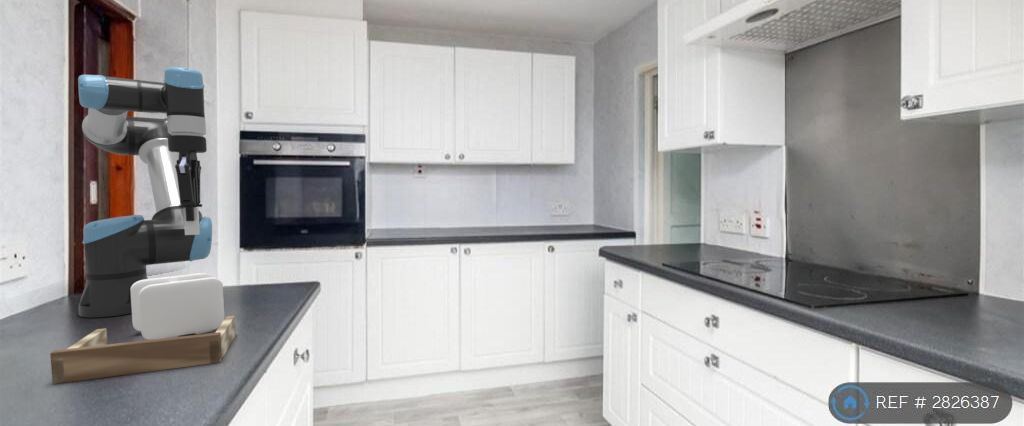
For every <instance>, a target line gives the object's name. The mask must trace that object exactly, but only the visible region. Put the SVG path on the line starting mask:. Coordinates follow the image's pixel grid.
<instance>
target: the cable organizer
mask: <svg viewBox="0 0 1024 426" xmlns="http://www.w3.org/2000/svg"><path fill="white" fill-rule="evenodd" d="M130 291H131V307H132V313H131V318H132V319H131V320H132V326H133V329H135V330H136V331H137V332H140V333H141V335H142V337H143V338H144V339H145V340H154V339H163V338H172V337H181V336H187V335H190V334H191V335H192V334H193V335H199V334H208V333H213V331H214V330H217V329H218V328H219V327H220V325H221V324H222V322H223V321H224V319H225V306H224V305H225V304H224V302H225V300H224V285H223V282H222V281H221V280H220V279H218V278H216V277H214V276H212V275H211V274H209V273H208V272H207V273H206V272H195V273H187V274H181V275H171V276H165V277H164V276H163V277H162V276H161V277H153V278H152V277H151V278H148V279H144V280H140V281H137V282H135V283H134V284H133V285H132V286H131V288H130Z"/></svg>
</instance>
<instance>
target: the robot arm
mask: <svg viewBox="0 0 1024 426" xmlns="http://www.w3.org/2000/svg"><path fill="white" fill-rule="evenodd" d="M163 77H164V78H163V82H159V81H151V80H150V81H149V80H140V79H131V78H123V77H116V76H108V75H107V76H106V75H101V74H81V75H79V76H78V78H77V82H78V83H77V85H78V99H79V105H81V107H82V108H86V109H88V112H87V115H86V116H84V119H83V120H82V124H81V130H82V133H83V136H84V137H85V139H86V140H87V141H88V142H89V143H91V144H92V145H93V146H95V147H97V148H98V149H100V150H103V151H105V152H107V153H108V152H109V153H111V154H115V155H121V156H138V157H139V159H140V161H142V163H144V164H146V165H147V170H148V175H149V180H150V185H151V192H152V196H153V201H154V207H155V213H154V214H153V215H152V216H151V219H145V217H144V216H143V215H141V214H134V215H125V216H124V215H123V216H115V217H110V218H104V219H98V220H94V221H90V222H88V223H86V224H85V226H84V227H83V239H82V244H83V246H84V248H83V249H84V266H85V267H84V268H85V279H86V280H85V281H86V282H85V285H84V289H83V292H82V294H81V297H80V301H79V303H78V309H77V310H78V316H79V317H81V318H92V319H93V318H108V317H116V316H123V315H130V314H132V307H131V291H130V288H131V286H132V285H133V284H134V283H135V282H137V281H140V280H144V279H149V278H148V275H147V266H150V265H160V264H161V265H162V264H169V263H170V264H171V263H181V262H182V263H183V262H193V261H198V260H204V259H206V258H208V257H209V256H210V254H211V250H212V240H213V222H212V219H211V217H208V216H203V215H202V212H201V211H200V210H199V208H203V204H202V201H201V171H202V167H201V161H200V160H198V155H197V153H198V154H204V153H206V152H207V138H206V137H205V135H206V134H207V127H206V126H207V125H206V124H207V123H206V116H205V115H206V114H205V113H206V112H205V92H204V91H205V90H204V89H205V85H204V77H203V74H202V73H201V71H199V70H196V69H194V68H187V67H181V66H173V67H171V66H170V67H166V69H165V70H164V75H163ZM128 112H135V113H136V112H137V113H147V114H149V113H150V114H161V115H162V114H163V115H166V118H157V117H156V118H155V117H145V116H144V117H143V116H141V117H140V116H139V117H138V116H129V115H128Z"/></svg>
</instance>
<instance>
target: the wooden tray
mask: <svg viewBox="0 0 1024 426" xmlns="http://www.w3.org/2000/svg"><path fill="white" fill-rule="evenodd" d="M107 332H108V331H107V328H97V329H95V330H93V331H92V332H90V333H89V334H87V335H86V336H84V337H83V338H81V339H80V340H78V341H76V342H75V343H74V344H72V345H70V346H69V347H67V348H64V349H55V350H54V351H51V352H50V369H51V380H52V381H51V382H52V385H55V384H56V385H57V384H64V383H71V382H79V381H86V380H87V381H88V380H94V379H96V380H97V379H101V378H110V377H119V376H125V375H133V374H140V373H148V372H156V371H164V370H172V369H180V368H186V367H187V368H188V367H195V366H203V365H211V364H218V363H219V364H220V363H221V362H222V360H223V358H224V357H225V355H226V353H227V351H228V349H229V347H230V346H231V344H232V342H233V340H234V339H235V337H236V335H237V334H236V333H237V332H236V316H235V315H230V316H229V315H227V316H226V317H224V321H223V322H222V324H221V325H220V327H218V328H216V331H215V332H208V333H202V334H193V335H192V334H191V335H190V334H189V335H181V336H178V337H172V338H163V339H154V340H148V339H145V340H136V341H129V342H118V343H110V344H108V334H107Z"/></svg>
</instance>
